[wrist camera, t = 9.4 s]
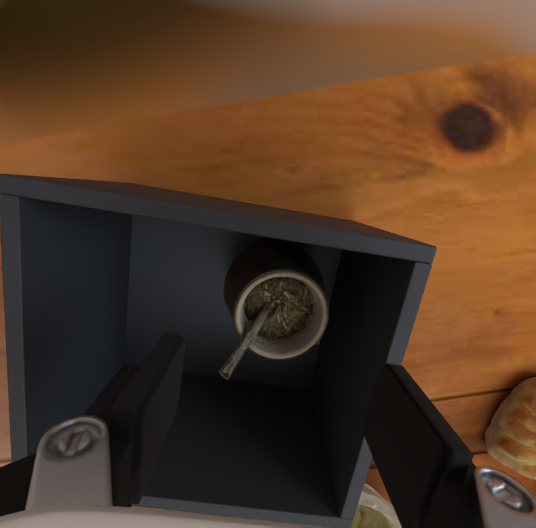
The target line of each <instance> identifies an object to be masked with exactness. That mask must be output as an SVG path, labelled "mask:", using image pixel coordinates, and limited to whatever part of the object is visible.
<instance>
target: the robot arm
mask: <svg viewBox="0 0 536 528" xmlns="http://www.w3.org/2000/svg"><path fill="white" fill-rule="evenodd" d="M185 343H186V339H185V338H181V334H180V333H173V332H164V334H163V335H162V337H161V338H160V339H159V341H158V342H157V344H156V345H155V346H154V348H153V349H152V351H151V352H150V353H149V355H148V356H147V358H146V359H145V360H144V362H143V363H142V365H137V364H133V365H131V366H130V367H129V368H128V370H127V371H126V372H125V373H124V375H123V376H122V377H121V379H120V380H119V381H118V383H117V384H116V385H115V386H114V388H113V389H112V390H111V392H110V393H109V394H108V396H107V397H106V398H105V399H104V401H103V402H102V403H101V405H100V406H99V407H98V409H97V410H96V411H95V412H94V414H93V415H92V416H91V415H83V416H76V417H72V418H69V419H66V420H64V421H62V422H60V423H58V424H56V425H55V426H53V427H52V428H51V429H49V430H48V431H47V432H46V433H45V435H44V436H43V437H42V438H41V440H40V443H39V445H38V449H37V452H36V453H34V454H31V455H29V456H27V457H24V458H22V459H19V460H17V461H15V462H12V463H10V464H7V465H5V466H3V467H0V528H327V527H318V526H309V525H300V524H291V523H282V522H273V521H264V520H254V519H245V518H235V517H226V516H216V515H207V514H197V513H188V512H178V511H167V510H155V509H143V508H132V507H131V506H132V504H136V505H138V504H139V502H140V500H141V498H142V496H143V493H144V491H145V488H146V486H147V483H148V481H149V478H150V476H151V473H152V471H153V468H154V466H155V463H156V461H157V458H158V456H159V453H160V451H161V448H162V446H163V443H164V441H165V438H166V436H167V433H168V431H169V428H170V426H171V423H172V421H173V418H174V416H175V413H176V411H177V407H178V404H179V397H180V388H181V379H182V370H183V361H184V352H185ZM363 434H364V437H365V439H366V442H367V444H368V447H369V449H370V452H371V454H372V456H373V459H374V461H375V464H376V466H377V469H378V471H379V473H380V476H381V478H382V481H383V483H384V486H385V488H386V490H387V493H388V495H389V498H390V500H391V503H392V505H393V508H394V510H395V512H396V515H397V517H398V520H399V522H400V525H401V527H402V528H536V498H535V497H534V496H533V495H532V494H531V492H530V491H529V490H528V489H527V488H525V487H524V486H523V485H522V484H521V483H520V482H519V481H517V480H516V479H514V478H513V477H511V476H510V475H508V474H506V473H505V472H503V471H501V470H499V469H496V468H493V467H490V466H478V467H476V466H475V465H474V464H473V462H472V458H473V456H474V455H473V454H472V452H471V451H470V450H469V449H468V447H467V446H466V445H465V444H464V442H463V441H462V440H461V439H460V437H459V436H458V435H457V434H456V432H455V431H454V430H453V429H452V427H451V426H450V425H449V424H448V422H447V421H446V420H445V419H444V417H443V416H442V415H441V414H440V412H439V411H438V410H437V409H436V407H435V406H434V405H433V404H432V402H431V401H430V400H429V399H428V397H427V396H426V395H425V394H424V392H423V391H422V390H421V388H420V387H419V386H418V385H417V383H416V382H415V381H414V380H413V378H412V377H411V376H410V375H409V373H408V372H407V371H406V370H405V368H404V367H403V366H401V365H395V364H388V363H386V364H385V365H384V367H380V368H379V371H378V374H377V378H376V381H375V385H374V388H373V391H372V395H371V398H370V402H369V405H368V409H367V412H366V416H365V419H364V422H363Z"/></svg>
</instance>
